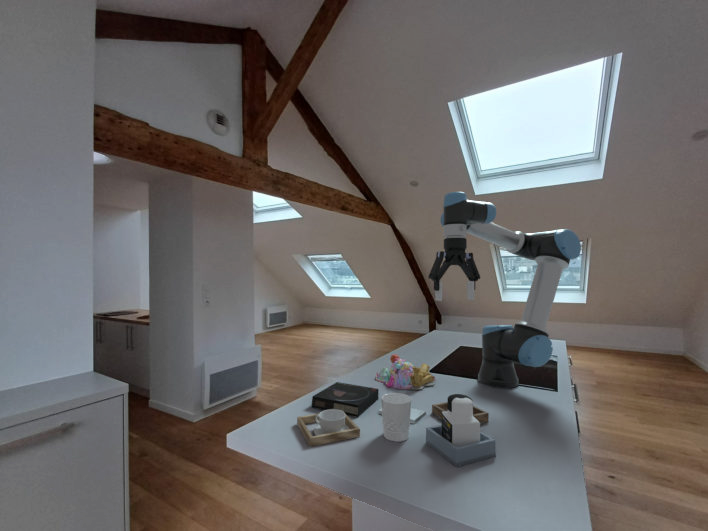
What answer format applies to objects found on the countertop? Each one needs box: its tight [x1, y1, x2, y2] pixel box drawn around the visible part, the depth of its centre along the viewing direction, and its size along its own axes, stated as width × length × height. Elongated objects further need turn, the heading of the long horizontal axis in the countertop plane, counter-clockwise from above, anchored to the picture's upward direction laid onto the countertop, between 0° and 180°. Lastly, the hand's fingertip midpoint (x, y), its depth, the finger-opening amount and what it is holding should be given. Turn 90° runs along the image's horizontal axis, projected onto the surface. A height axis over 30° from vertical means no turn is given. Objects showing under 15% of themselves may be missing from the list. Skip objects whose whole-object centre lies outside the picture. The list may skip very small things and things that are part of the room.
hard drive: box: [377, 407, 427, 425], centre depth 103 cm, size 2×8×12 cm
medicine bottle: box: [441, 393, 481, 447], centre depth 82 cm, size 7×7×12 cm
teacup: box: [313, 409, 350, 436], centre depth 91 cm, size 10×10×5 cm
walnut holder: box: [431, 401, 489, 424], centre depth 101 cm, size 12×12×2 cm
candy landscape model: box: [375, 353, 437, 391], centre depth 136 cm, size 25×24×9 cm
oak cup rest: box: [296, 410, 361, 447], centre depth 91 cm, size 14×14×2 cm
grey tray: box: [425, 424, 496, 468], centre depth 82 cm, size 12×12×4 cm
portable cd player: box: [311, 381, 379, 418], centre depth 111 cm, size 16×17×4 cm
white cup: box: [381, 392, 412, 443], centre depth 89 cm, size 8×8×10 cm
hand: (455, 300), depth 113 cm, fingers open, 13 cm apart
